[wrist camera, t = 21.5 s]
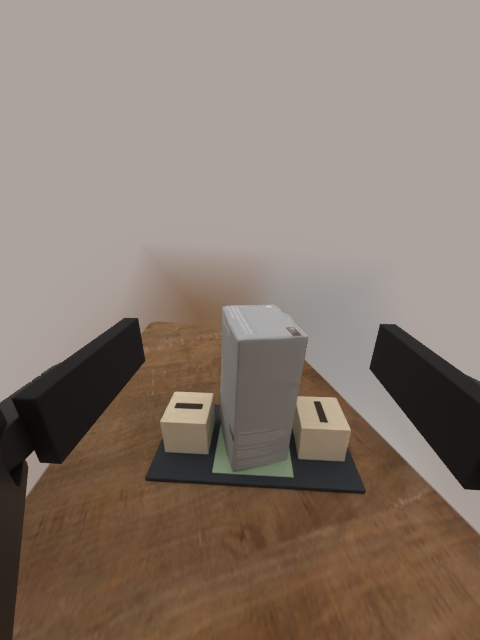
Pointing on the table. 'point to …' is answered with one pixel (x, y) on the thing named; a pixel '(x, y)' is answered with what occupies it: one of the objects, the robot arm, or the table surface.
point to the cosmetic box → (259, 383)
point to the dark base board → (294, 473)
